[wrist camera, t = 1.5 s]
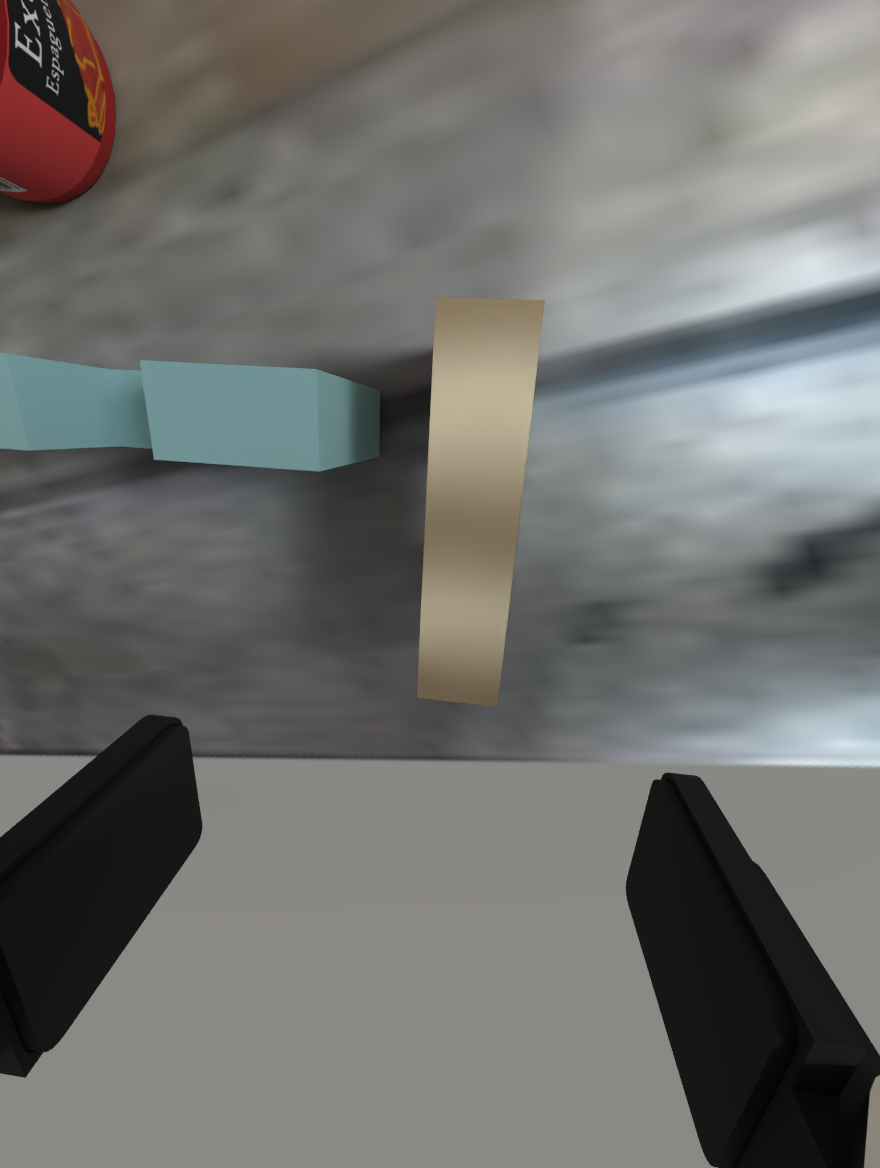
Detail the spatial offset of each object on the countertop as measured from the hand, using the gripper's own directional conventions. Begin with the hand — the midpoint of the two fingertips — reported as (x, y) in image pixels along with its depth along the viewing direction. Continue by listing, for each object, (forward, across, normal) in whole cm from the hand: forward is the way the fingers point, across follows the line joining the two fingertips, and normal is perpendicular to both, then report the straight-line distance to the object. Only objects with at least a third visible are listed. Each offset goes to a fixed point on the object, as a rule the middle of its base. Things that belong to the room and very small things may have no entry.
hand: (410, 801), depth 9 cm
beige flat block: (+15, -1, -4) cm, 16 cm away
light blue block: (+16, +12, -7) cm, 21 cm away
